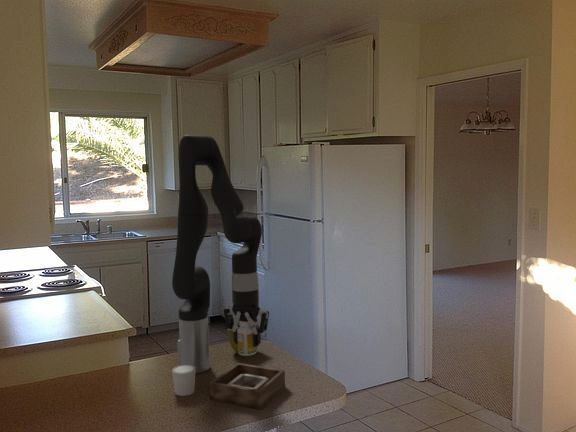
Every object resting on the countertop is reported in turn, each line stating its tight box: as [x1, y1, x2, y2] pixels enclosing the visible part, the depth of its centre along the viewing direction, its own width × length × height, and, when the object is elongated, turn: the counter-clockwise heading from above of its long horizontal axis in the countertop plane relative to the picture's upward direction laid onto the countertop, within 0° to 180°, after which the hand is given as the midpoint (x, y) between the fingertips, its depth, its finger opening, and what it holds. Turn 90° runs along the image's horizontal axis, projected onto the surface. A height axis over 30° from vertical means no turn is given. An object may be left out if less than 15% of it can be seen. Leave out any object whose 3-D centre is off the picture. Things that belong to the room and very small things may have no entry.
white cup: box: [171, 365, 196, 397], centre depth 161 cm, size 7×7×7 cm
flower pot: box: [226, 328, 262, 354], centre depth 192 cm, size 9×9×9 cm
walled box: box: [209, 362, 286, 410], centre depth 159 cm, size 16×16×5 cm
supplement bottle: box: [237, 321, 258, 357], centre depth 157 cm, size 5×5×10 cm
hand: (247, 344), depth 157 cm, fingers closed on supplement bottle, 5 cm apart
